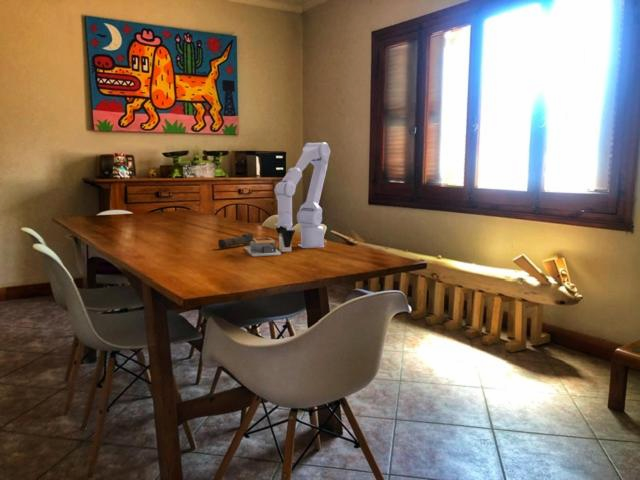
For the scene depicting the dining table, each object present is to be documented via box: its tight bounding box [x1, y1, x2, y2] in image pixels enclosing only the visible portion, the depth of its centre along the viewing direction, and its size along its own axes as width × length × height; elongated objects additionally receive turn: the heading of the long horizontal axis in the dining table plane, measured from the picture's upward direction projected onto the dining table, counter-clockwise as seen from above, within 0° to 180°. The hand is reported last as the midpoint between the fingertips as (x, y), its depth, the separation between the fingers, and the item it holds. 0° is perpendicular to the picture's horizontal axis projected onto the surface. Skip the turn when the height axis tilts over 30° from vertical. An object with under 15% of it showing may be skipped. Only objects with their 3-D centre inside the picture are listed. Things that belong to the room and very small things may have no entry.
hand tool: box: [217, 232, 255, 249], centre depth 216 cm, size 19×4×5 cm, turn 141°
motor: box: [244, 237, 282, 257], centre depth 204 cm, size 11×18×5 cm, turn 18°
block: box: [278, 233, 292, 253], centre depth 207 cm, size 4×4×7 cm
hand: (285, 245), depth 207 cm, fingers open, 6 cm apart
